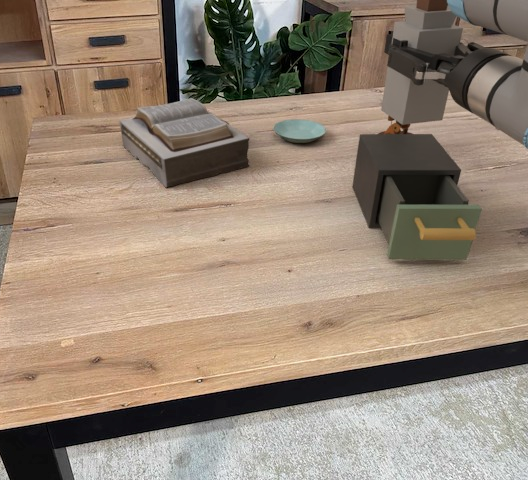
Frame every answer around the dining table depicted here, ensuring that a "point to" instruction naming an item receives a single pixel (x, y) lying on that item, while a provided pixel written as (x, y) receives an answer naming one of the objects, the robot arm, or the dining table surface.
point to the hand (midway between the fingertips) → (407, 42)
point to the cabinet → (395, 165)
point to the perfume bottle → (429, 40)
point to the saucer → (299, 130)
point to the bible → (184, 142)
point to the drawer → (426, 218)
